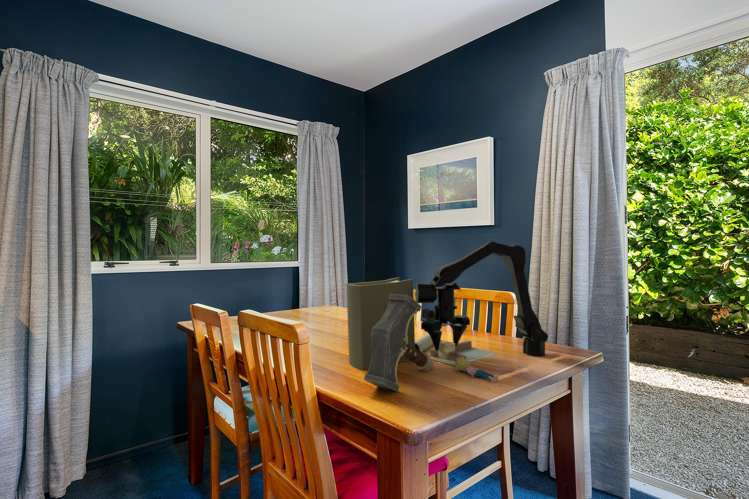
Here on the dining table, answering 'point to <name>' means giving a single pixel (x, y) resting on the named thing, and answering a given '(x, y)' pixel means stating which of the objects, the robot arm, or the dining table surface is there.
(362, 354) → the book
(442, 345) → the wooden block with peg
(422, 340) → the tube
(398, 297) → the hammer
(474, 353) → the board
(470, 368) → the figurine
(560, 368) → the dining table surface
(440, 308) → the robot arm
